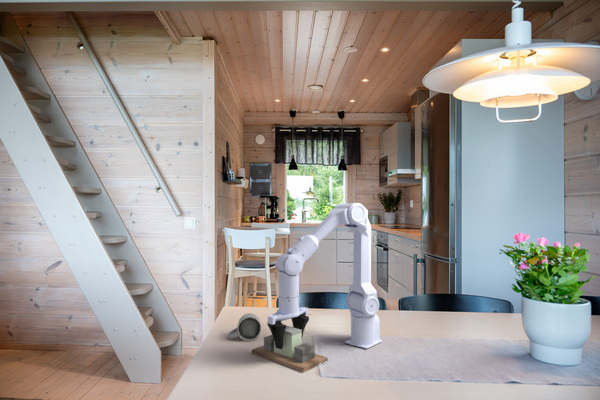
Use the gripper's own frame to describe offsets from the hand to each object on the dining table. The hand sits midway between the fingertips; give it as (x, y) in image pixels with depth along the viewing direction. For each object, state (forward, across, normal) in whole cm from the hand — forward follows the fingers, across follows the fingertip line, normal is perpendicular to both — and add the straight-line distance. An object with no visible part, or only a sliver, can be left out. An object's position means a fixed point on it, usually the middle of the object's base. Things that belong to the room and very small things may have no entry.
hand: (288, 344), depth 109 cm
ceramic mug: (+4, -3, -22) cm, 23 cm away
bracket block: (+2, 0, 0) cm, 2 cm away
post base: (+3, 0, 0) cm, 3 cm away
